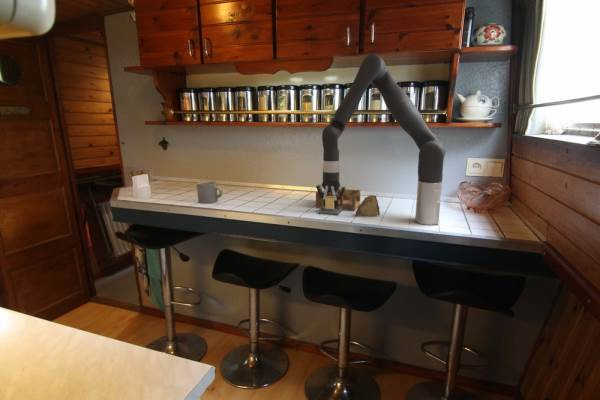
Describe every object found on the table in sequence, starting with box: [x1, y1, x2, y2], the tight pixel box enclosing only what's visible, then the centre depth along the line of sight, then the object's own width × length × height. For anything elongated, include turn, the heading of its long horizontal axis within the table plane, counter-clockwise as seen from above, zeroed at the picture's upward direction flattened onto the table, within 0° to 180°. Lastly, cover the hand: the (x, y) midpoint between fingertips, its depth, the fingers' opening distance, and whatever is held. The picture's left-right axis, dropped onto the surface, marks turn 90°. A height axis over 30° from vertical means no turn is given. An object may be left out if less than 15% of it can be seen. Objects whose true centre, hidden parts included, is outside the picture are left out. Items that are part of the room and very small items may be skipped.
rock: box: [354, 194, 381, 218], centre depth 153 cm, size 11×9×10 cm
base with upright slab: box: [131, 173, 152, 199], centre depth 192 cm, size 9×9×12 cm
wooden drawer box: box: [315, 188, 361, 212], centre depth 168 cm, size 19×12×8 cm, turn 68°
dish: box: [317, 206, 344, 216], centre depth 159 cm, size 9×9×1 cm
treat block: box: [325, 196, 335, 209], centre depth 158 cm, size 4×4×5 cm
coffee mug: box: [196, 180, 223, 205], centre depth 179 cm, size 13×10×10 cm
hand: (330, 207), depth 159 cm, fingers closed on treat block, 3 cm apart
